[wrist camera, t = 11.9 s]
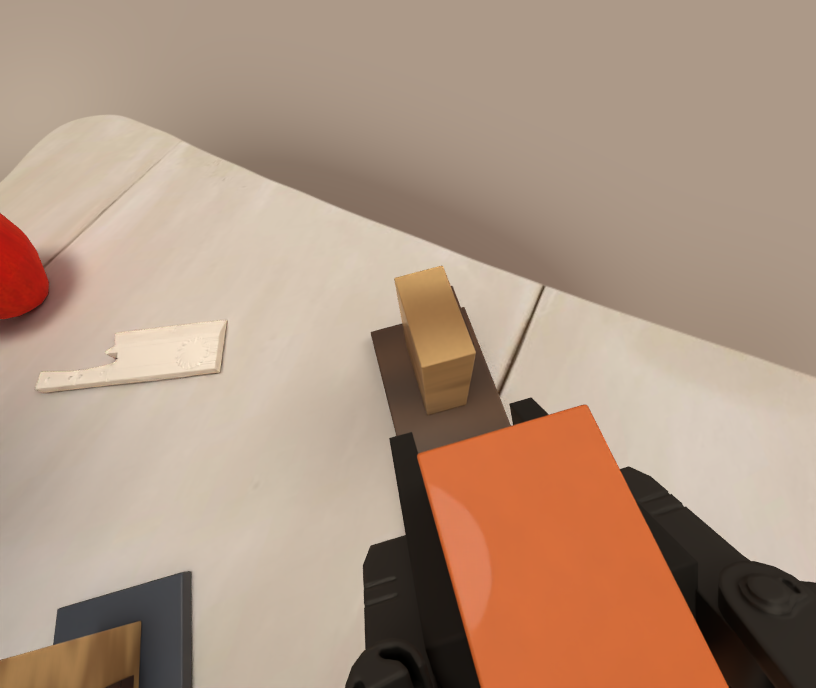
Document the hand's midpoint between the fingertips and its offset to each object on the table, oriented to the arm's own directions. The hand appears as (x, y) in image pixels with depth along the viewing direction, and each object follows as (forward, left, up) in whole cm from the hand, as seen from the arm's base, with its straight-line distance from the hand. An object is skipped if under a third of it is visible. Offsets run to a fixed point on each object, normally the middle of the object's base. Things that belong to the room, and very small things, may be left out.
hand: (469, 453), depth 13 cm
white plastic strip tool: (-27, -11, -15) cm, 33 cm away
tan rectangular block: (-7, +5, -14) cm, 17 cm away
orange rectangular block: (+3, -2, -2) cm, 4 cm away
